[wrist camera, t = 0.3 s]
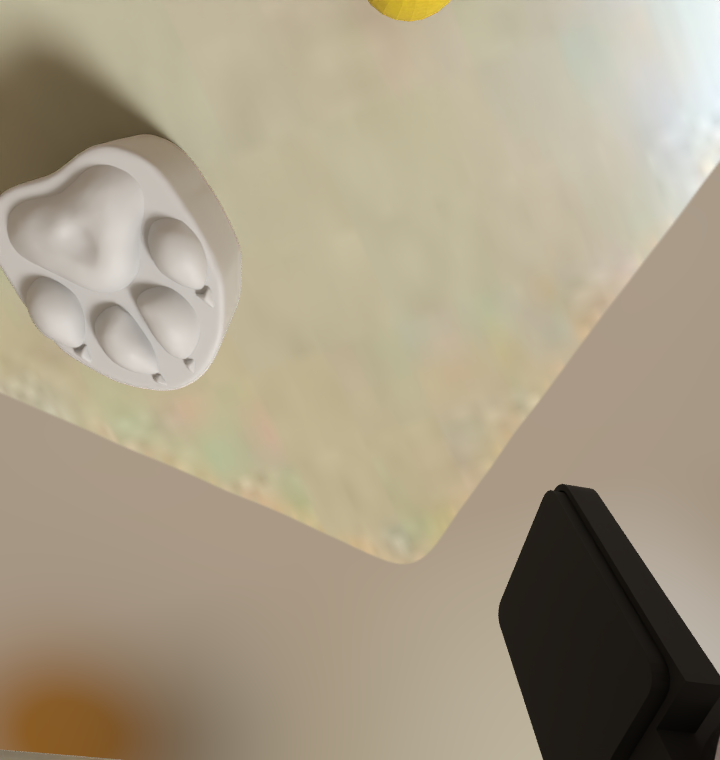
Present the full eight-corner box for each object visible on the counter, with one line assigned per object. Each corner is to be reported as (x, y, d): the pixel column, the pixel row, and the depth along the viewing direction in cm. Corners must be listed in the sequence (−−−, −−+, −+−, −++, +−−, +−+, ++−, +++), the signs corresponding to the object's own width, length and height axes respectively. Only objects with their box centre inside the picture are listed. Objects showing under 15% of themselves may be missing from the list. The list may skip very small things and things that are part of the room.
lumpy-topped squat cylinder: (173, 115, 35) (128, 122, 27) (277, 310, 40) (265, 362, 33) (22, 193, 37) (-61, 220, 29) (142, 371, 42) (99, 435, 34)
